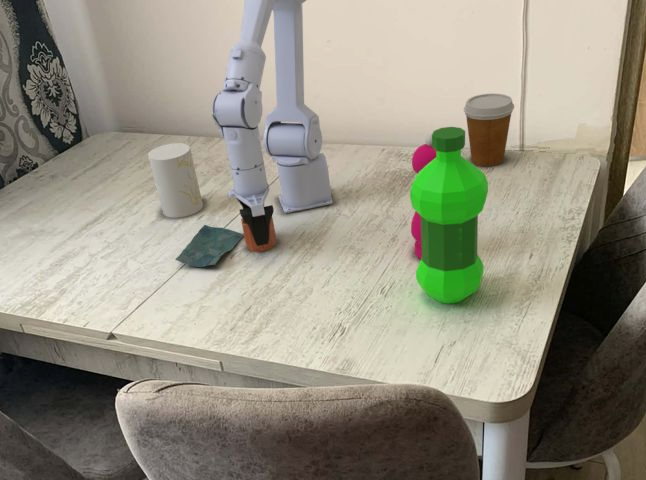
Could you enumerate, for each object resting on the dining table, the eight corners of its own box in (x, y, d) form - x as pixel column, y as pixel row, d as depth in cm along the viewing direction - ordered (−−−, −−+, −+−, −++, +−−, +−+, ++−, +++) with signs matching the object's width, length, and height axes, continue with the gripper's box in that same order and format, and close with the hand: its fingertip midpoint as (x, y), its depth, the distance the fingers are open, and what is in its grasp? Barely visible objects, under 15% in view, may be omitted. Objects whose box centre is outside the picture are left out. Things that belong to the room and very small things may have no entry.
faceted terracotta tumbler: (273, 234, 133) (269, 208, 130) (278, 248, 128) (274, 222, 125) (244, 240, 132) (239, 214, 129) (248, 254, 128) (243, 228, 125)
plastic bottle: (411, 279, 114) (404, 123, 100) (479, 273, 113) (483, 115, 99) (417, 315, 106) (411, 151, 92) (491, 309, 105) (496, 142, 91)
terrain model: (206, 232, 136) (204, 223, 135) (244, 236, 134) (243, 227, 133) (175, 268, 127) (173, 258, 126) (216, 272, 125) (214, 263, 123)
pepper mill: (428, 268, 117) (425, 147, 105) (403, 250, 122) (397, 135, 110) (465, 253, 119) (465, 134, 107) (438, 237, 124) (436, 122, 113)
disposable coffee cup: (475, 148, 153) (476, 91, 146) (519, 154, 148) (522, 94, 141) (455, 166, 147) (455, 107, 140) (500, 172, 142) (502, 111, 135)
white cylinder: (195, 217, 143) (181, 158, 136) (157, 218, 145) (141, 160, 138) (208, 198, 149) (195, 142, 142) (171, 200, 151) (156, 144, 144)
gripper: (219, 152, 127) (233, 223, 135) (227, 184, 115) (242, 259, 123) (258, 145, 127) (270, 215, 135) (271, 176, 116) (283, 251, 124)
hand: (259, 236), depth 129 cm, fingers closed on faceted terracotta tumbler, 5 cm apart
